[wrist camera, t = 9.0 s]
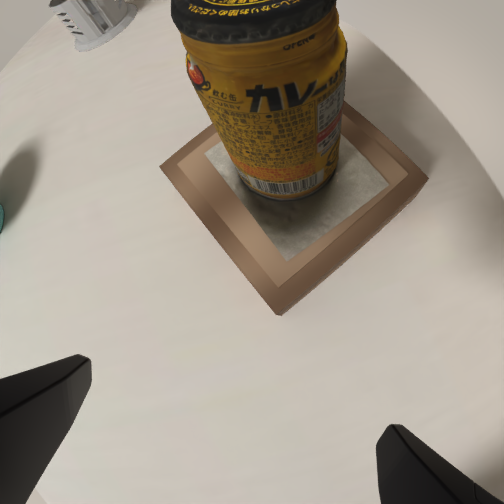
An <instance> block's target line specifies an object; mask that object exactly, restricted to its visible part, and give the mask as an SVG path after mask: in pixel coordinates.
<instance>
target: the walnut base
mask: <svg viewBox="0 0 504 504" xmlns="http://www.w3.org/2000/svg"><path fill="white" fill-rule="evenodd" d="M343 102H344V105H343V115H342V122H341V124H342V126H341V134H342V135H343V136H344V137H345V138H346V139H347V140H348V141H349V142H350V143H351V144H352V145H353V146H354V147H355V148H356V149H357V150H358V151H359V152H360V153H361V154H362V155H363V156H364V157H365V158H366V159H367V160H368V161H369V163H370V164H371V165H372V166H373V167H374V168H375V169H376V170H377V171H378V172H379V173H380V174H381V176H382V177H383V178H384V179H385V180H386V182H387V183H388V184H389V186H387V187H386V188H385V189H383V190H382V191H381V192H379V193H378V194H377V195H376V196H374V197H373V198H372V199H371V200H369V201H368V202H367V203H365V204H364V205H363V206H361V207H360V208H359V209H358V210H356V211H355V212H354V213H353V214H352V215H350V216H349V217H347V218H346V219H345V220H343V221H342V222H341V223H339V224H338V225H337V226H335V227H334V228H333V229H331V230H330V231H329V232H327V233H326V234H325V235H323V236H321V237H320V238H319V239H318V240H317V241H315V242H314V243H312V244H311V245H310V246H308V247H307V248H306V249H304V250H303V251H301V252H299V253H298V254H297V255H296V256H294V257H293V258H291V259H290V260H289V261H286V260H285V259H284V257H283V256H282V255H281V253H280V252H279V251H278V249H277V248H276V247H275V245H274V244H273V243H272V241H271V240H270V239H269V237H268V236H267V235H266V234H265V232H264V231H263V230H262V228H261V227H260V226H259V224H258V223H257V222H256V220H255V219H254V218H253V216H252V215H251V214H250V212H249V211H248V210H247V208H246V207H245V206H244V205H243V204H242V202H241V201H240V199H239V198H238V197H237V195H236V194H235V193H234V192H233V190H232V189H231V188H230V186H229V185H228V184H227V182H226V181H225V180H224V178H223V177H222V176H221V175H220V173H219V172H218V171H217V170H216V168H215V167H214V166H213V164H212V163H211V162H210V160H209V159H208V158H207V157H206V155H205V154H204V153H205V152H207V151H208V150H209V149H211V148H212V147H214V146H215V145H216V144H218V143H219V142H221V141H222V140H221V138H220V137H219V135H218V133H217V131H216V128H215V127H214V125H213V123H212V124H211V125H210V126H209V127H207V128H206V129H205V130H203V131H202V132H201V133H200V134H198V135H197V136H196V137H194V138H193V139H192V140H191V141H189V142H188V143H187V144H186V145H184V146H183V147H182V148H181V149H180V150H178V151H177V152H176V153H175V154H173V155H172V156H171V157H170V158H169V159H168V160H166V161H165V162H164V163H163V164H162V165H160V166H159V167H160V168H161V170H162V171H163V172H164V174H165V175H166V176H167V177H168V179H169V180H170V181H171V183H172V184H173V185H174V187H175V188H176V189H177V190H178V192H179V193H180V194H181V196H182V197H183V198H184V199H185V201H186V202H187V203H188V205H189V206H190V207H191V208H192V210H193V211H194V212H195V214H196V215H197V216H198V217H199V219H200V220H201V221H202V223H203V224H204V225H205V226H206V228H207V229H208V230H209V231H210V233H211V234H212V235H213V237H214V238H215V239H216V240H217V242H218V243H219V244H220V245H221V247H222V248H223V249H224V250H225V252H226V253H227V254H228V256H229V257H230V258H231V259H232V261H233V262H234V263H235V264H236V266H237V267H238V268H239V269H240V271H241V272H242V273H243V274H244V276H245V277H246V278H247V279H248V281H249V282H250V283H251V284H252V286H253V287H254V288H255V289H256V291H257V292H258V293H259V294H260V296H261V297H262V298H263V299H264V301H265V302H266V303H267V304H268V305H269V307H270V308H271V309H272V310H273V312H274V313H275V314H276V315H280V316H282V315H283V314H284V313H285V312H287V311H288V310H289V309H290V308H292V307H293V306H294V305H295V304H296V303H298V302H299V301H300V300H301V299H302V298H304V297H305V296H306V295H307V294H308V293H310V292H311V291H312V290H313V289H314V288H315V287H317V286H318V285H319V284H320V283H321V282H323V281H324V280H325V279H326V278H327V277H328V276H329V275H331V274H332V273H333V272H334V271H335V270H336V269H338V268H339V267H340V266H341V265H342V264H343V263H344V262H346V261H347V260H348V259H349V258H350V257H351V256H352V255H353V254H355V253H356V252H357V251H358V250H359V249H360V248H361V247H362V246H363V245H365V244H366V243H367V242H368V241H369V240H370V239H371V238H372V237H373V236H374V235H376V234H377V233H378V232H379V231H380V230H381V229H382V228H383V227H384V226H385V225H386V224H387V223H389V222H390V221H391V220H392V219H393V218H394V217H395V216H396V215H397V214H398V213H399V212H400V211H401V210H402V209H403V208H404V207H405V206H407V205H408V204H409V203H410V202H411V201H412V200H413V199H414V198H415V197H416V196H417V194H418V193H419V192H420V190H421V189H422V187H423V186H424V185H425V183H426V182H427V180H428V179H429V178H428V177H427V176H426V175H425V174H424V173H423V172H422V171H421V170H420V169H419V168H418V167H417V166H416V165H415V164H414V163H413V162H412V161H411V160H410V159H409V158H408V157H407V156H406V155H405V154H404V153H403V152H402V151H401V150H400V149H399V148H398V147H397V146H396V145H395V144H394V143H393V142H392V141H390V140H389V139H388V138H387V137H386V136H385V135H384V134H383V133H382V132H380V131H379V130H378V129H377V128H376V127H375V126H374V125H373V124H371V123H370V122H369V121H368V120H367V119H366V118H364V117H363V116H362V115H361V114H360V113H358V112H357V111H356V110H355V109H354V108H352V107H351V106H350V105H349V104H347V103H346V102H345V101H344V100H343ZM337 174H338V173H337ZM337 174H336V175H337Z"/></svg>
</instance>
